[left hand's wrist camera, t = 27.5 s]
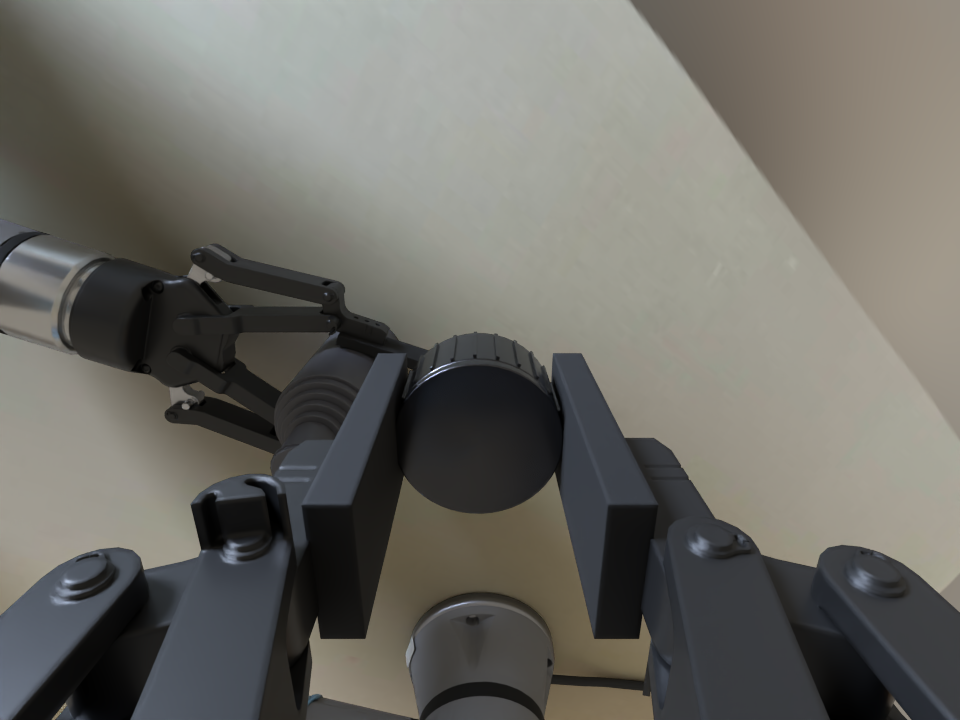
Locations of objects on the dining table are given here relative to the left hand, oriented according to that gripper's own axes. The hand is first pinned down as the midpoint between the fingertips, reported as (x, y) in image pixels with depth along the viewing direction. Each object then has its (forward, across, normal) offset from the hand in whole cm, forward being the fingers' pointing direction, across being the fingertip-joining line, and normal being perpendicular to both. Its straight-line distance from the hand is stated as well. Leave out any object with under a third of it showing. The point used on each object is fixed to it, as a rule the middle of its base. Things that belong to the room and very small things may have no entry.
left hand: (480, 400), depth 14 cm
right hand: (+23, +5, +11) cm, 26 cm away
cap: (-2, 0, 0) cm, 2 cm away
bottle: (+30, +10, +10) cm, 33 cm away
